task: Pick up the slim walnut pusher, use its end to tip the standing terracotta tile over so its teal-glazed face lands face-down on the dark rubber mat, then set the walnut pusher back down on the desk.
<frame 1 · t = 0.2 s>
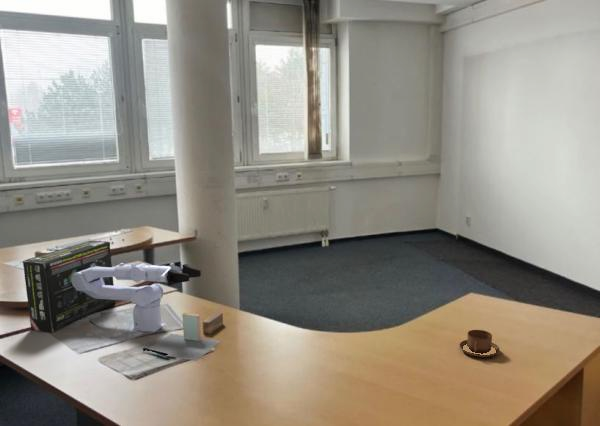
hand: (194, 275, 184), 21 cm above the table, tool horizontal, fingers open, 7 cm apart
tile: (192, 339, 181), resting on mat
router box: (75, 316, 208), on the table
walnut pusher: (213, 330, 191), on the table
mat: (182, 347, 176), on the table
cup and saucer: (479, 353, 168), on the table
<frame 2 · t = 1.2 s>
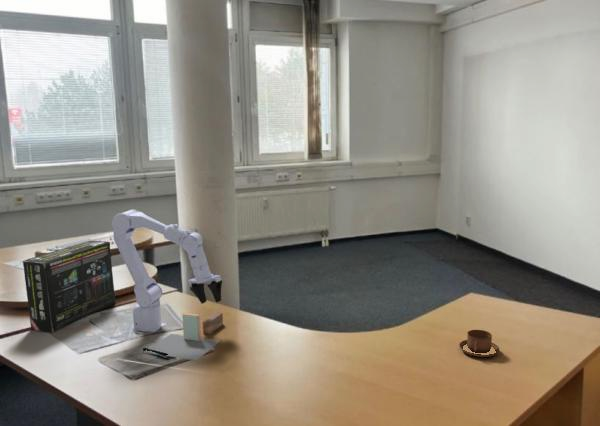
hand: (211, 302, 188), 11 cm above the table, tool tilted 15°, fingers open, 7 cm apart
nothing on the table moved.
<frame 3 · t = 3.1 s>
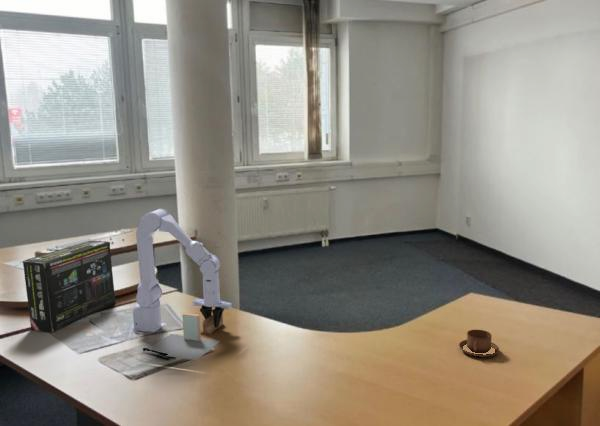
hand: (213, 326, 191), 1 cm above the table, tool pointing down, fingers closed on walnut pusher, 2 cm apart
walnut pusher: (213, 330, 191), on the table, touching gripper
everything else where it was.
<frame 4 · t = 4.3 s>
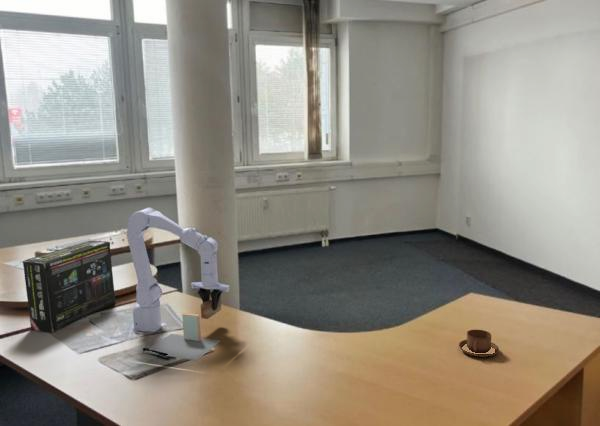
hand: (211, 309, 190), 8 cm above the table, tool pointing down, fingers closed on walnut pusher, 2 cm apart
walnut pusher: (211, 313, 190), point 6 cm above the table, touching gripper
everything else where it was.
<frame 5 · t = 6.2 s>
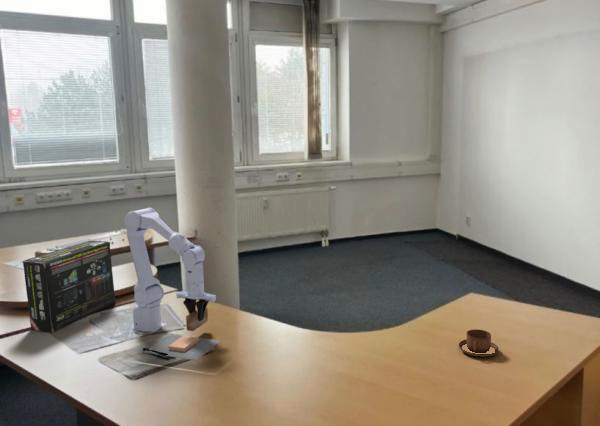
hand: (197, 319, 184), 6 cm above the table, tool pointing down, fingers closed on walnut pusher, 2 cm apart
tile: (190, 338, 180), point 1 cm above the table, tilted 90°, touching mat
walnut pusher: (197, 325, 184), point 4 cm above the table, touching gripper
everything else where it was.
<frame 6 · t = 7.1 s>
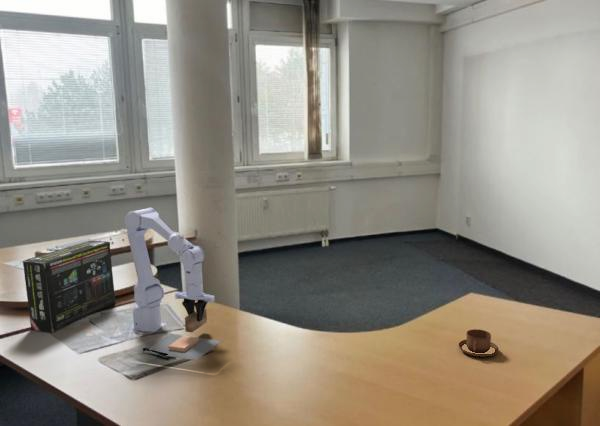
hand: (196, 320, 183), 6 cm above the table, tool pointing down, fingers closed on walnut pusher, 2 cm apart
walnut pusher: (196, 326, 183), point 4 cm above the table, touching gripper
everything else where it was.
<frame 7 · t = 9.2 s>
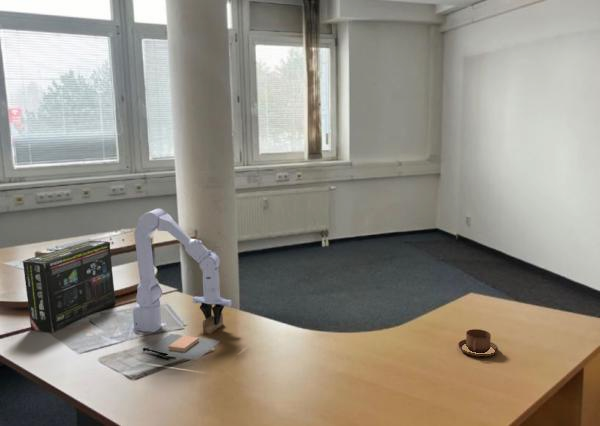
hand: (213, 323, 190), 2 cm above the table, tool pointing down, fingers closed on walnut pusher, 2 cm apart
walnut pusher: (213, 330, 191), on the table, touching gripper
everything else where it was.
when the fingers open (2 cm above the table, at t = 9.4 s): walnut pusher stays where it is, on the table.
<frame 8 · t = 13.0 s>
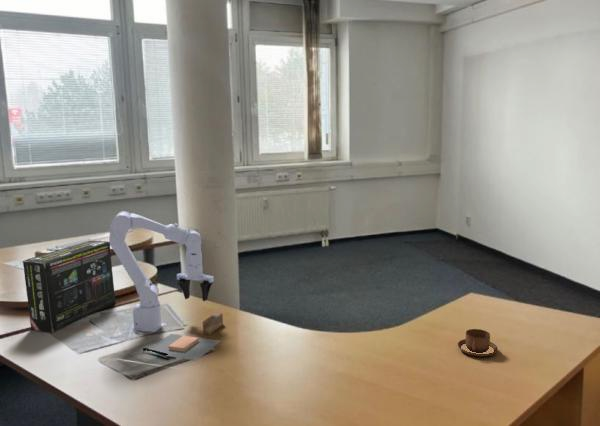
hand: (196, 299, 196), 9 cm above the table, tool pointing down, fingers open, 7 cm apart
walnut pusher: (213, 330, 191), on the table
everything else where it was.
at the end: tile tilted 90°; tile inside the target area on the mat (5.0 cm from its centre), point 1.2 cm above the mat's base; the gripper is holding nothing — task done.
